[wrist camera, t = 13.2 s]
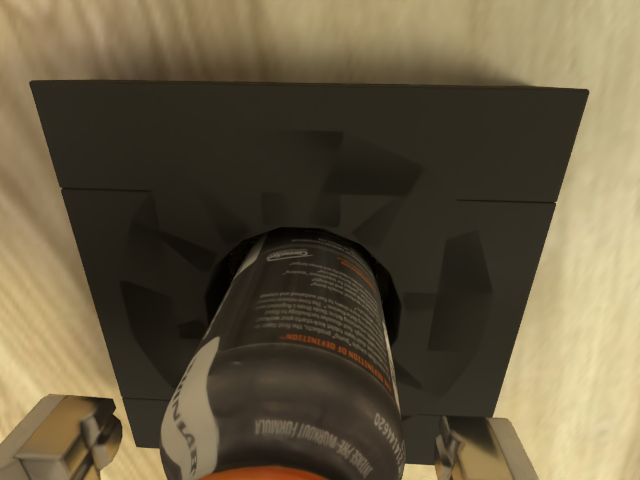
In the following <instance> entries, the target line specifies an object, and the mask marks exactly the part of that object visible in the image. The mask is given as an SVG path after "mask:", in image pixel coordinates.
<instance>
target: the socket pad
mask: <svg viewBox="0 0 640 480" xmlns="http://www.w3.org/2000/svg"><path fill="white" fill-rule="evenodd" d="M29 84H30V87H31V91H32V94H33V97H34V101H35V104H36V108H37V111H38V114H39V118H40V121H41V125H42V128H43V131H44V135H45V138H46V142H47V145H48V148H49V152H50V155H51V159H52V162H53V165H54V169H55V172H56V176H57V179H58V182H59V186H60V187H61V188H63V189H61V192H62V196H63V199H64V202H65V206H66V209H67V213H68V216H69V219H70V223H71V226H72V230H73V233H74V236H75V240H76V243H77V247H78V250H79V253H80V257H81V260H82V264H83V267H84V270H85V274H86V277H87V281H88V284H89V287H90V291H91V294H92V298H93V301H94V305H95V308H96V311H97V315H98V318H99V322H100V325H101V328H102V332H103V335H104V339H105V342H106V345H107V349H108V352H109V356H110V359H111V362H112V366H113V369H114V373H115V376H116V379H117V383H118V386H119V390H120V393H121V396H122V397H123V398H122V400H123V403H124V406H125V410H126V413H127V417H128V420H129V423H130V427H131V430H132V434H133V437H134V440H135V444H136V446H137V447H142V448H159V449H160V445H159V444H160V432H161V425H162V422H163V419H164V416H165V413H166V410H167V407H168V405H169V403H170V401H171V399H172V397H173V395H174V393H175V391H176V389H177V387H178V385H179V383H180V381H181V380H182V378H183V376H184V374H185V372H186V370H187V367H188V365H189V363H190V361H191V359H192V357H193V355H194V353H195V351H196V349H197V347H198V346H199V343H200V341H201V339H202V338H203V336H204V334H205V332H206V330H207V328H208V327H209V325H210V323H211V321H212V319H213V317H214V316H215V314H216V312H217V309H218V307H219V305H220V303H221V302H222V300H223V298H224V296H225V294H226V292H227V290H228V288H229V287H230V279H229V270H228V258H229V255H230V252H231V251H232V250H233V249H234V248H235V247H236V246H237V245H238V244H239V243H240V242H241V241H243V240H246V239H248V238H251V237H254V236H257V235H260V234H262V233H265V232H268V231H271V230H274V229H276V228H279V227H298V228H323V229H325V230H328V231H330V232H332V233H335V234H337V235H339V236H342V237H344V238H347V239H349V240H351V241H354V242H356V243H359V244H361V245H362V246H363V247H364V248H365V249H366V250H367V251H368V252H369V253H370V254H371V255H372V256H373V257H374V258H375V259H376V260H377V261H378V262H379V263H380V264H381V265H382V266H383V267H384V268H385V269H386V270H387V271H388V272H389V274H390V278H389V288H388V295H387V297H386V299H385V300H384V302H383V304H382V309H383V313H384V320H385V325H386V330H387V335H388V340H389V345H390V351H391V356H392V361H393V366H394V370H395V381H396V386H397V394H398V401H399V408H400V415H401V420H402V428H403V433H404V439H405V449H406V453H405V464H422V465H435V463H434V444H435V439H436V437H438V436H439V435H440V434H441V433H440V429H439V421H440V418H441V417H442V416H443V415H452V416H478V417H484V418H485V417H489V418H492V417H493V414H494V411H495V407H496V404H497V401H498V397H499V394H500V390H501V387H502V384H503V380H504V377H505V374H506V370H507V367H508V364H509V360H510V357H511V354H512V350H513V347H514V344H515V340H516V337H517V334H518V330H519V327H520V324H521V320H522V317H523V314H524V310H525V307H526V304H527V300H528V297H529V294H530V290H531V287H532V284H533V280H534V277H535V273H536V270H537V267H538V263H539V260H540V257H541V253H542V250H543V247H544V243H545V240H546V237H547V233H548V230H549V227H550V223H551V220H552V217H553V213H554V210H555V207H556V203H555V202H556V201H557V199H558V196H559V192H560V189H561V186H562V182H563V179H564V176H565V172H566V169H567V166H568V162H569V159H570V156H571V152H572V149H573V145H574V142H575V139H576V135H577V132H578V129H579V125H580V122H581V119H582V115H583V112H584V109H585V105H586V102H587V99H588V95H589V90H587V89H574V88H555V87H536V86H471V85H406V84H341V83H276V82H211V81H146V80H32V81H30V83H29Z"/></svg>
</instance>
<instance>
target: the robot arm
mask: <svg viewBox="0 0 640 480" xmlns="http://www.w3.org/2000/svg"><path fill="white" fill-rule="evenodd" d="M115 409H116V406H115V404H114V401H113V399H109V398H97V397H85V396H73V395H58V394H49V395H48V396H46V397H44V398H42V399H41V400H40V401H39V402H38V403H37V404H36V406H35V407H34V408H33V409H32V410H31V411H30V412H29V413H28V414H27V415H26V417H25V418H24V419H23V420H22V421H21V422H20V423H19V424H18V425H17V426H16V427H15V429H14V430H13V431H12V432H11V433H10V434H9V435H8V436H7V437H6V438H5V439H4V441H3V442H2V443H1V444H0V480H101V478H100V470H101V469H103V468H104V467H105V466H107V465H108V464H109V463H111V462H112V460H113V458H114V457H115V455H116V453H117V451H118V449H119V446H120V443H121V439H122V425H121V421H120V420H119V419H118V418H117V417H115V416H114V415H113V412H114V411H115ZM439 429H440V433H441V434H440V435H439V436H438V437H436V439H435V444H434V463H435V470H436V474H437V479H438V480H539V478H538V476H537V474H536V472H535V470H534V468H533V466H532V464H531V462H530V460H529V458H528V456H527V453H526V451H525V449H524V447H523V445H522V443H521V441H520V439H519V437H518V435H517V433H516V431H515V429H514V427H513V425H512V423H511V422H510V421H509V420H508V419H507V418H489V417H485V418H484V417H478V416H452V415H443V416H442V417H441V418H440V421H439Z"/></svg>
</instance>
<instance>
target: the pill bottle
mask: <svg viewBox="0 0 640 480" xmlns="http://www.w3.org/2000/svg"><path fill="white" fill-rule="evenodd" d="M159 445H160V455H161V461H162V464H163V468H164V471H165V474H166V477H167V479H168V480H401V479H402V475H403V471H404V465H405V453H406V449H405V439H404V433H403V428H402V420H401V415H400V408H399V401H398V394H397V386H396V381H395V370H394V366H393V361H392V356H391V351H390V345H389V340H388V335H387V330H386V325H385V320H384V313H383V309H382V302H381V298H380V292H379V286H378V281H377V275H376V271H375V267H374V263H373V261H372V258H371V256H370V254H369V252H368V251H367V250H366V249H365V248H364V247H363V246H362V245H361V244H359V243H356V242H354V241H351V240H349V239H347V238H344V237H342V236H339V235H337V234H335V233H332V232H330V231H328V230H325V229H323V228H298V227H279V228H276V229H274V230H271V231H268V232H265V233H263V234H262V235H261V236H260V237H258V239H257V240H256V241H255V242H254V243H253V244H252V246H251V247H250V249H249V250H248V252H247V254H246V256H245V258H244V260H243V262H242V264H241V266H240V268H239V270H238V271H237V273H236V275H235V277H234V279H233V281H232V283H231V285H230V287H229V288H228V290H227V292H226V294H225V296H224V298H223V300H222V302H221V303H220V305H219V307H218V309H217V312H216V314H215V316H214V317H213V319H212V321H211V323H210V325H209V327H208V328H207V330H206V332H205V334H204V336H203V338H202V339H201V341H200V343H199V346H198V347H197V349H196V351H195V353H194V355H193V357H192V359H191V361H190V363H189V365H188V367H187V370H186V372H185V374H184V376H183V378H182V380H181V381H180V383H179V385H178V387H177V389H176V391H175V393H174V395H173V397H172V399H171V401H170V403H169V405H168V407H167V410H166V413H165V416H164V419H163V422H162V425H161V432H160V444H159Z"/></svg>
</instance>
